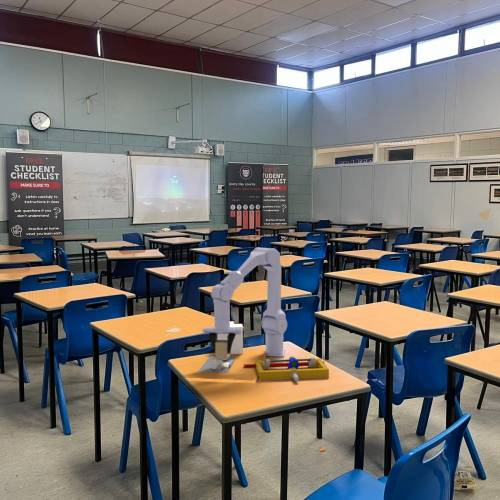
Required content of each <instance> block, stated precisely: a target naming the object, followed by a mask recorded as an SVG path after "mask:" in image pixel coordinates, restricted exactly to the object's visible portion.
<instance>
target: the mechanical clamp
mask: <svg viewBox="0 0 500 500" xmlns="http://www.w3.org/2000/svg"><path fill="white" fill-rule="evenodd" d="M299 367H307V368H299ZM249 368H250V369H251V368H253V369H254V368H255V369H256V372H257V375H258V376H257V378H258V381H266V380H267V381H271V380H275V381H276V380H294V381H295V382H299V380H300V379H319V378H318V377H324V378H329V377H330V369H329V367H327V365H326V364H325V361H324V360H322V358H321V357H320V358H316V357H309V358H296V357H295V356H289V358H288V359H272V360H271V359H265V360H255V361H254V363H246V364H245V363H244V364H243V369H249ZM270 368H287V369H273V370H272V369H270ZM269 369H270V370H269Z"/></svg>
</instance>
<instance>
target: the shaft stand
mask: <svg viewBox="0 0 500 500" xmlns="http://www.w3.org/2000/svg"><path fill="white" fill-rule="evenodd" d="M236 359H237V357H236V356H234V357H233V356H231V354H229V357H228V359H216V356H209V357H207V359H206V360H205V362H204V363H203V364H202V366H201V367H200V368H199V369H198V370H197V373H223V374H224V373H226V374H227V373H229V372H230V370H231V368H232V366H233V364H234V363H235V361H236Z"/></svg>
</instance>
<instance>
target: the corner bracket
mask: <svg viewBox="0 0 500 500" xmlns="http://www.w3.org/2000/svg"><path fill="white" fill-rule="evenodd" d="M230 328H240V329H242V334H241V335H238V334H236V336H235V338H234V340H233V343H232V347H231V353H230V355H243V354H244V331H243V330H244V327H243V323H237V324H236V323H234V321H230ZM228 335H229V334H218V335H217V340H228V339H227V336H228Z"/></svg>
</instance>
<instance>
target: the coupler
mask: <svg viewBox="0 0 500 500" xmlns="http://www.w3.org/2000/svg"><path fill="white" fill-rule="evenodd" d="M214 355H215V357H216V359H228V357H229V354H228V340H216V342H215V353H214Z"/></svg>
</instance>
